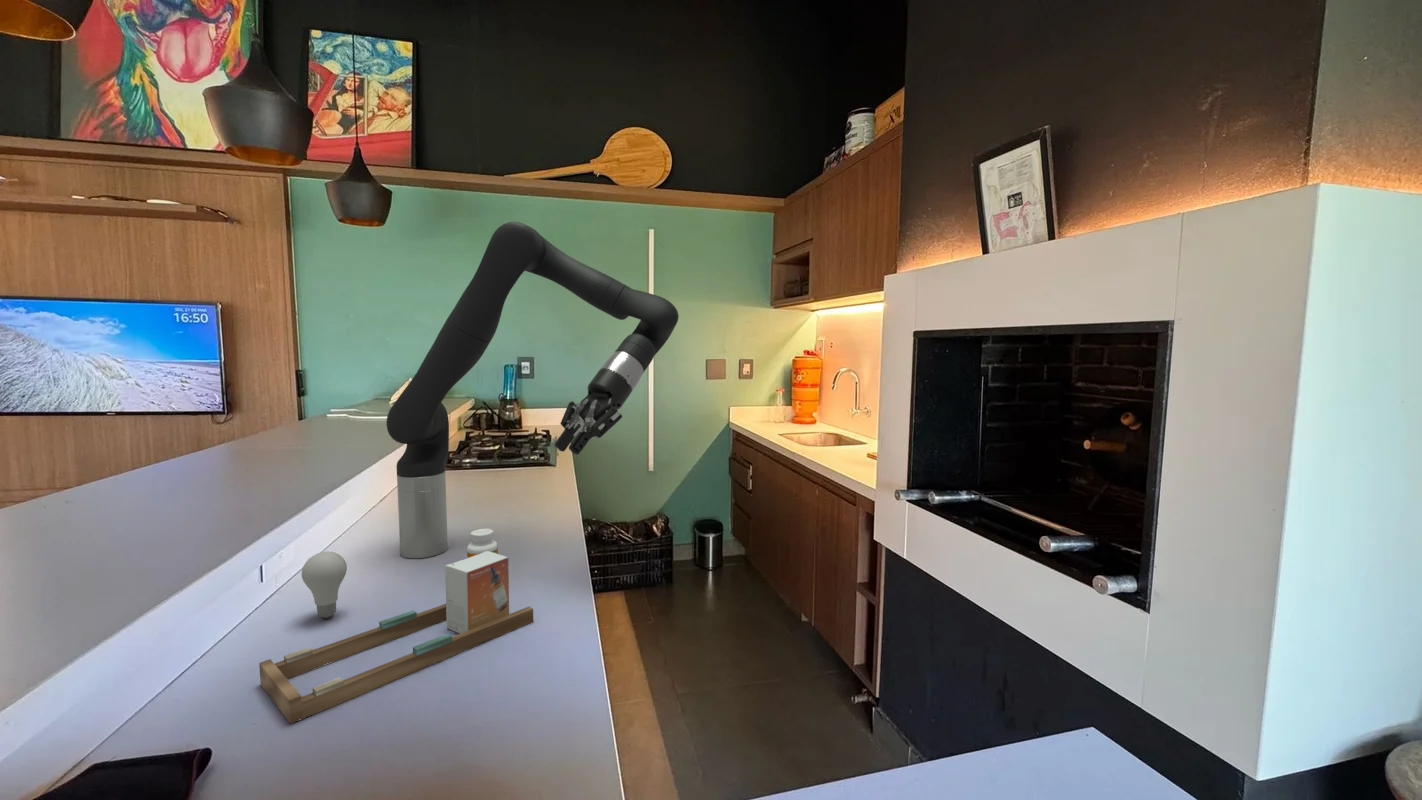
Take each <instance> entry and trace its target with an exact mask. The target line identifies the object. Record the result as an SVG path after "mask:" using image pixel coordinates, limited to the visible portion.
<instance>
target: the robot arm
mask: <svg viewBox="0 0 1422 800" xmlns="http://www.w3.org/2000/svg"><path fill="white" fill-rule="evenodd" d="M524 272H527V273H530V274H533V275H535V276H536V275H537V276H540V277H543V278H545V279H548V280H550V281H551V282H554V283H555V284H557V285H560V286H561V287H562V288H564V289H566V290H567V291H569V292H571V293H572V294H574V295H575V296H577V297H578V298H579V299H582V300H583V301H584V302H585V303H588V304H589V305H591V306H592V307H594V308H596V309H597V310H600V311H601V312H604V313H605V314H607V315H609V316H611V317H613V318H615V319H617V320H619V321H620V320H621V321H624V320H627V318H628V317H632V318H634V319H637V320H640V321H639V323H638V324H637V326H636V327H635V328H634V330H633V332H631V333H630V334H628V335H627V336H626V337H625V338H624V339H623V340H622V341H621V343H620V344H619V345H618V347H617V348H616V349H615V350H614V352H613V354H612V355H610V356H609V357H608V358H607V360H606V361H605V362H604V364H602V366H601V368H599V370H598V371H597V373H596V374H595V375H594V376H593V378H592V380H591V381H590V382H589V383H588V385H587V395H586V396H585V397H583V399H582V400H580V402H579V403H575V402H574V401H570V402H568V404H567V407H566V409H565V412H564V414H563V417H562V418H561V421H560V425H561V426H562V427H563V429H564V430H563V431H562V433H561V434H560V436H559V437H558V438H557V439H556V441H555V443H554V446H555V448H556V449H557V450H558V451H559V452H566V450H567V449H568V450H569V451H571V452H572V454H574V455H577V456H578V455H579V454H580V453H581V452H582V451H583V450H584V448H585V446H587V444H588V442H589V441H590V440H593V439H594V438H595V437H597V438H598V439H600V438H602V437H603V436H604V435H605V434H606V433H607V432H608V431H609V430H610V429H612V427H614V426H615V425H616V424H617V423H618V422H619V421H620V420H621V419H622V418H623V415H622V414H621V412H620V411H619V410H620V409H621V408H622V407H623V405H624V404H625V402H626V401H627V399H629V397H630V395H631V394H632V392H633V391H634V390H635V388H636V387H637V386H638V383H640V381H641V378H642V376H643V374H644V373H645V371H646V370H647V368H648V367H649V366H650V364H651V363H652V362H653V360H654V357H655V356H656V355H657V354H658V353H659V351H660V350H661V349H662V348H663V346H664V345H665V344H666V342H667V341H668V340H669V338H670V337H671V335H672V333H673V331H674V330H675V328H676V325H677V323H678V322H679V317H680V316H679V312H678V309H677V308H676V307H675V305H674V304H673V303H672V302H671V301H669V300H668V299H666V298H664V297H662V296H660V295H656V294H653V293H650V292H646V291H642V290H640V289H639V290H638V289H634V288H631V286H628V285H627V284H625V283H623V282H621V281H619V280H617V279H615V278H614V277H612V276H609V275H608V274H606V273H603V272H602V271H600V270H597V269H596V268H593V267H590V266H588V265H586V264H584V263H583V262H580V261H578V259H575V258H573V257H571V256H570V255H568V254H566V253H565V252H564V251H562V250H561V249H559V248H558V247H556V246H555V245H553V243H551V242H550V241H548V240H547V239H546V238H545V237H544V236H543V235H541V233H539V232H538V231H537V230H536V229H534V228H533V227H531V226H529V225H527V224H525V223H523V222H519V221H508V222H506V223H503V224H501V225H500V226H499V227H497V228H496V230H495V231H494V232H493V234H492V235H491V237H490V240H489V242H488V244H487V247H486V249H485V252H484V253H483V256H482V258H481V260H480V262H479V265H478V267H477V269H476V271H475V273H474V275H473V277H472V279H471V280H470V281H469V283H468V285H467V286H466V288H465V289H464V291H463V292H462V294H461V296H460V297H459V299H458V301H457V302H456V304H455V306H454V307H453V309H452V310H451V312H450V314H449V315H448V317H447V319H446V320H445V322H444V323H443V326H442V327H441V328H440V330H439V332H438V334H437V336H436V338H435V340H434V342H433V344H432V345H431V347H430V349H429V350H428V352H427V354H426V355H425V357H424V359H423V361H422V362H421V364H420V366H419V368H418V369H417V372H416V373H415V374H414V376H413V377H412V379H411V380H410V382H409V383H408V385H406V387H405V388H404V389H403V391H402V393H401V394H400V395H399V396H398V397H397V399H396V400H395V402H393V404H392V406H391V407H390V408H389V411H388V413H387V418H386V424H385V425H386V430H387V433H388V435H389V436H390V437H391V439H392V440H393V441H395V442H396V443H399V444H403V445H406V447H405V450H404V453H403V454H402V456H401V457H400V458H399V459H398V460H397V462H396V483H397V485H396V488H397V505H398V506H397V508H398V528H399V530H398V532H399V552H400V553H399V555H400V556H402V558H403V557H404V558H406V559H407V558H408V559H423V558H430V557H433V556H434V555H435V556H438V555H441V554H442V553H444V552H446V551H447V550H448V548H449V547H448V545H449V544H448V542H449V541H448V515H447V514H448V511H447V509H448V508H447V483H446V482H447V481H446V462H447V460H448V457H449V452H450V451H449V450H450V448H449V447H450V441H449V440H450V436H449V435H450V421H449V414H448V411H447V408H446V407H445V405H444V403H443V400H444V398H445V397H446V396H447V394H448V393H449V392H450V390H451V389H452V388H453V387H454V386H455V385H456V384H457V383H458V382H459V381H460V380H462V378H463V377H465V376H466V375H467V374H468V372H470V371H471V370H472V368H474V366H475V365H476V364H477V363H478V362H479V361H480V359H481V358H482V357H483V355H484V353H485V351H486V350H487V348H488V347H489V345H490V343H491V341H492V340H493V338H494V336H495V334H496V331H497V329H498V327H499V323H500V320H501V316H502V313H503V309H504V306H505V302H506V300H507V298H508V296H509V294H510V293H511V291H512V289H513V287H514V286H515V284H516V283H517V282H518V280H519V279H520V277H521V276H522V274H523V273H524ZM581 419H582V420H581ZM576 424H577V425H576ZM603 425H604V426H603ZM435 556H434V557H435Z"/></svg>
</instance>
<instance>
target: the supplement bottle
mask: <svg viewBox="0 0 1422 800" xmlns="http://www.w3.org/2000/svg"><path fill="white" fill-rule="evenodd" d="M470 541H471V542H469V544H468V545H467V548H466V555H467V556H466V559H467V558H470V557H472V556H475V555H478V554H481V553H483V552H485V551H490V552H493V553H496V554H499V550H498V549H499V548H498V543H497V541H495V540H494V530H493V529H491V528H479V529H475V530H472V531H471V532H470Z"/></svg>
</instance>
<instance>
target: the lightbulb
mask: <svg viewBox="0 0 1422 800" xmlns="http://www.w3.org/2000/svg"><path fill="white" fill-rule="evenodd" d="M347 567H348V565H347V562H346V560H345V559H344V557H343V556H342V555H340V554H339V553H336V552H334V551H327V550H326V551H320V552H317V553H315V554H314V555H312V556H311V557H309V558H308V559H307V560H306V562H305V563H304V564H303V566H302V569H301V579H302V582H303V583H304V584H305V586H306V587H307V588H308V589H309V591H310V592H311V594H312V597H313V600H314V601H313V602H314V604H315V605H316V609H317V610H316V611H317V615H318V617H321V618H323V619H328V618H331V616H333V615H335V613H336V612H337V601H338V598H339V589H340V586H341V584H342V582H343V581H344V578H345V577H346V574H347V571H348V568H347Z"/></svg>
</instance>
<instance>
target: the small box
mask: <svg viewBox="0 0 1422 800" xmlns="http://www.w3.org/2000/svg"><path fill="white" fill-rule="evenodd" d="M444 571H445V572H444V574H445V575H444V576H445V577H444V579H445V604H446V618H447V620H446V629H448V630H451V631H453V632H455V633H457V634H461V633H463V632H466V631H468V630H471V629H473V628H476V627H478V626H481V625H483V624H486V623H488V622H491V621H493V620H496V619H498V618H501V617H504V616H506V615H509V614H510V590H509V589H510V583H509V582H510V581H509V578H510V577H509V573H510V572H509V571H510V569H509V557H508V556H506V555H502V554H499V553H498V554H496V553H493V552H490V551H485V552H483V553H481V554H478V555H475V556H472V557H470V558H467V557H466V558H464V559H461V560H458V561H455V562H453V563H452V562H451V563H448V564H446V565H444Z"/></svg>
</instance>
